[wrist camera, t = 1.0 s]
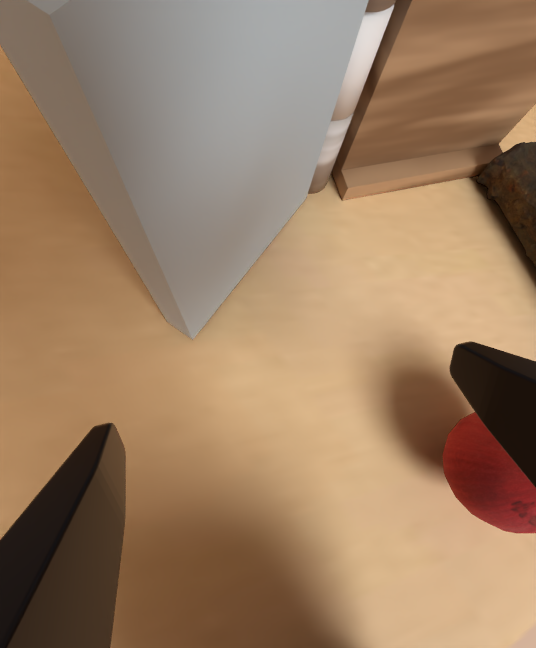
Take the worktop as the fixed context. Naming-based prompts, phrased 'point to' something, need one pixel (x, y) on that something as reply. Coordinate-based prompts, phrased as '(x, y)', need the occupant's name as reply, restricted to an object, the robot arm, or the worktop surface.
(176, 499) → the worktop surface
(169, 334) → the worktop surface
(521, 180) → the hand tool
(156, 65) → the hinged leaf
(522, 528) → the onion
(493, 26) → the hinge frame
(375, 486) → the worktop surface
